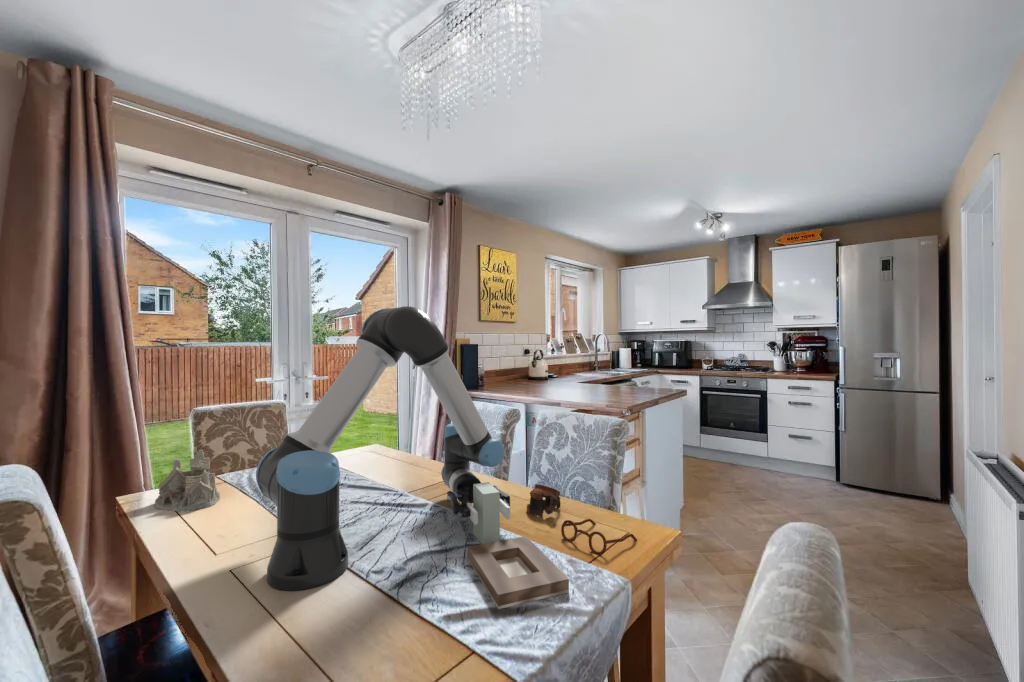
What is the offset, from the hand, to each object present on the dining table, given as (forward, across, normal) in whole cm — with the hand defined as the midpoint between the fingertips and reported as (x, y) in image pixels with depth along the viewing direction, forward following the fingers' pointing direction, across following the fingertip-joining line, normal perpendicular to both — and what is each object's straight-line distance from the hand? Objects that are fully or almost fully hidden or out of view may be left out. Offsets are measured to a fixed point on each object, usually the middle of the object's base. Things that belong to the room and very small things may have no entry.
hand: (492, 516), depth 102 cm
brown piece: (-15, -20, -7) cm, 26 cm away
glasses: (+6, -25, -8) cm, 27 cm away
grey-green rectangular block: (-5, 0, -7) cm, 9 cm away
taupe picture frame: (+13, 0, -7) cm, 15 cm away
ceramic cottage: (-60, +74, -7) cm, 96 cm away
